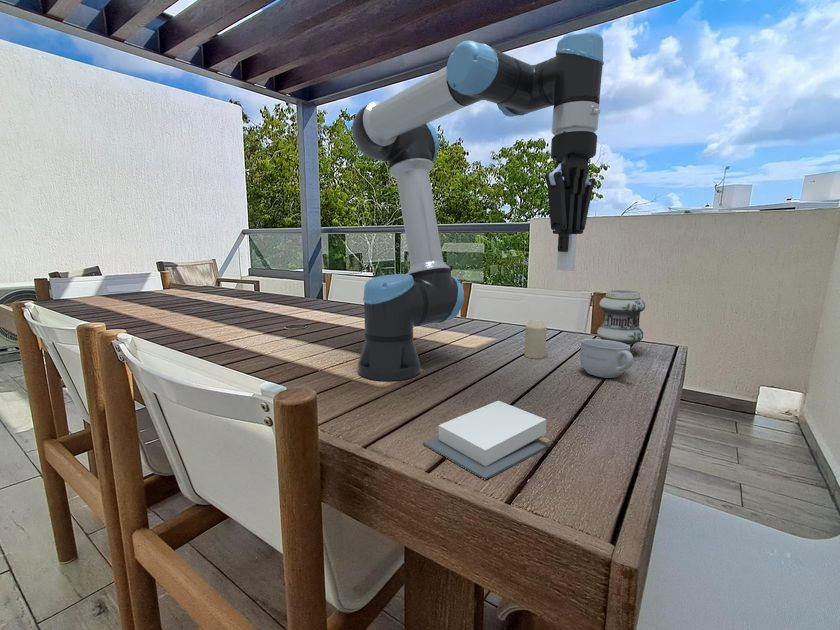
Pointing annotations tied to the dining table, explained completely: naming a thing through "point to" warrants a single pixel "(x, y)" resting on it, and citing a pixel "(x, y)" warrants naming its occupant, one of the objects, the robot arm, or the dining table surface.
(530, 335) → the candle
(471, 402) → the dining table surface
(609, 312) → the apothecary jar
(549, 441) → the oak strip
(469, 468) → the mat
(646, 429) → the dining table surface
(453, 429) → the tile
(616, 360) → the teacup
